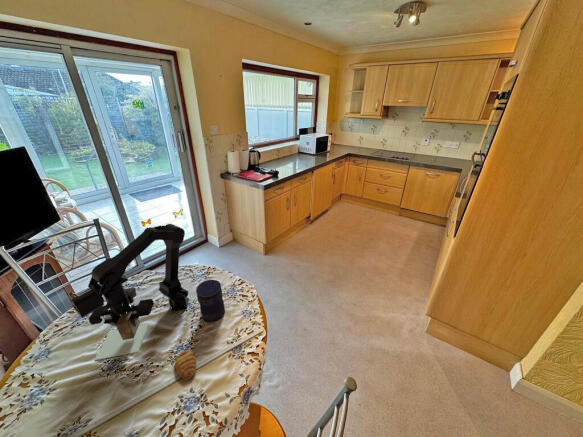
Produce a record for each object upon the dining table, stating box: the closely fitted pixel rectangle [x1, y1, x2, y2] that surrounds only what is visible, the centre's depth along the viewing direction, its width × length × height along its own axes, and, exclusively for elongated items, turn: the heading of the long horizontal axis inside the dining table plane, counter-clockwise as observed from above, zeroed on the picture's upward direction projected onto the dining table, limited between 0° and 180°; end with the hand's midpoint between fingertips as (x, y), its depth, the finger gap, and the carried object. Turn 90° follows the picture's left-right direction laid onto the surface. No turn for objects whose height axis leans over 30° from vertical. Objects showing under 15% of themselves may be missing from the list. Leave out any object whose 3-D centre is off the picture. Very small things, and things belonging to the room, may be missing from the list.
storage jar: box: [195, 279, 226, 324], centre depth 98 cm, size 10×10×15 cm
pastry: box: [174, 349, 197, 381], centre depth 81 cm, size 9×7×4 cm
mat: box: [94, 323, 149, 361], centre depth 89 cm, size 14×12×1 cm
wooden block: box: [115, 313, 141, 340], centre depth 86 cm, size 4×7×8 cm, turn 13°
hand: (130, 326), depth 87 cm, fingers closed on wooden block, 4 cm apart
